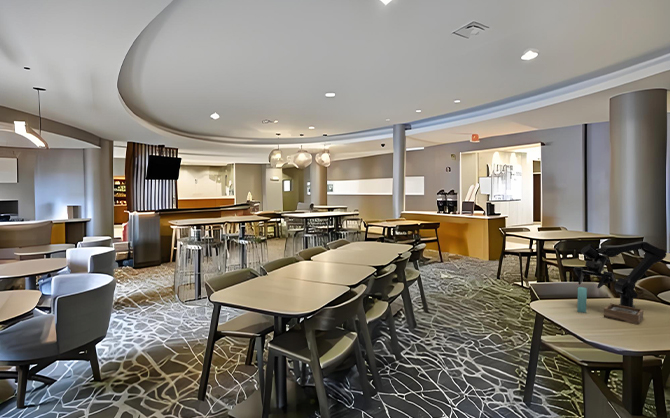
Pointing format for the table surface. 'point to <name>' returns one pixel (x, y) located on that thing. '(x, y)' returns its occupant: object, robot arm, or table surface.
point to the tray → (623, 313)
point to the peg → (582, 299)
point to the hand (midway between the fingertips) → (588, 286)
